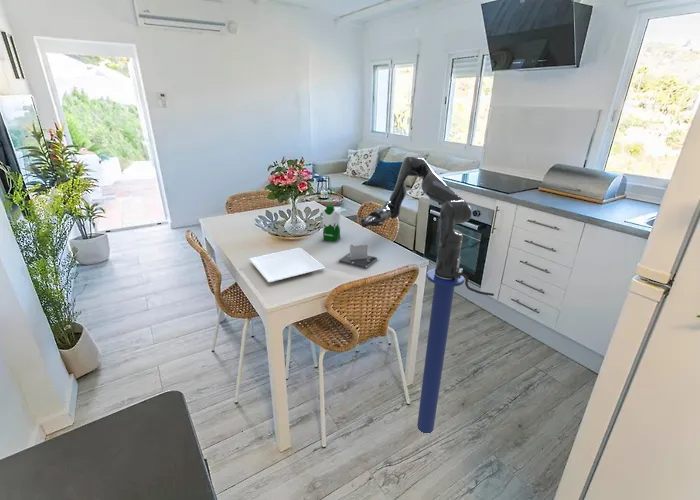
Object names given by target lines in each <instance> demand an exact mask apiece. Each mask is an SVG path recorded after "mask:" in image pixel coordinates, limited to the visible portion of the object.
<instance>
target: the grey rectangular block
mask: <svg viewBox="0 0 700 500" xmlns="http://www.w3.org/2000/svg"><path fill="white" fill-rule="evenodd" d="M349 253H350V260H357V259H367V255H368V244H367V243H357V244H352V243H351V244H350V245H349Z"/></svg>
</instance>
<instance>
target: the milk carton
mask: <svg viewBox="0 0 700 500" xmlns="http://www.w3.org/2000/svg"><path fill="white" fill-rule="evenodd" d="M341 209H342V207H339V206H335V205H333V204H327V205H325V207H324V208H323V209H321V212H322V239H323V241H325V242H332V243H337V241H338V240H339V239H341Z"/></svg>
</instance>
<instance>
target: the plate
mask: <svg viewBox="0 0 700 500" xmlns="http://www.w3.org/2000/svg"><path fill="white" fill-rule="evenodd" d="M248 260H249V261H250V262H251V263H252V264H253V266H254V267H255V268H256V269H257V271H258V272H259V273H260V274H261V275H262V276H263V278H264V279H265V281H267V283H273V282H278V281H281V280H285V279H290V278H293V277H297V276H301V275H304V274H308V273H312V272H317V271H320V270H324V269H326V267H325V266H324V265H323V264H322V263H321V262H319V261H318V260H317V259H315V258H314V257H313V256H312V255H311V254H309V252H307V251H305V249H303V248H302V247H296V248H295V247H294V248H291V249H286V250H282V251H277V252H273V253H272V252H271V253H267V254H263V255H258V256H254V257H253V256H252V257H249V258H248Z"/></svg>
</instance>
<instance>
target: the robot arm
mask: <svg viewBox="0 0 700 500" xmlns="http://www.w3.org/2000/svg"><path fill="white" fill-rule="evenodd" d="M408 177H416V178H420V179H421V185H420V186H421V189H422V191H423V193H424V194H425V195H426V196H427V197H428V198H429V199H430V200H432V201H434V202H435V203H437V204H441V207H440V211H439V227H438V230H439V237H438V245H437V252H436V253H437V254H436V262H435V268H436V269H435V268H434V269H435V276H436V277H437V278H439V279H442V280H453V281H455V279H456V278H460V277H461V276H463V277H464V278H465V279H464V282H465V283H464V284H465V287H466V288H467V290H469V291H471V292H474V293H476V294H479V295H484V296H491V297H494V296H495V293H493V292H486V291H482V290H478V289H475V288H472V287H470V286H469V277H468V276H467V275H466V274H465V273H463V272H464V269H463V268H460V264H461V258H462V256H461V251H462V243H463V238H464V234H463V232H461V231H460V230H458V229H455V228H454V225H457V224H465V223H467V222H469V221H470V220H471V218H472V208H471V206H470V204H469V203H468V202H467V201H466V200H465V199H464V198H463V197H461V196H459V195H458V194H457V193H456V192H454V191H453V190H452V189H451V188H450V186H449V185H447V184H446V183H445V181H444V180H443V179H442V178H441V177H440V176H438V175H437V174H436V172H435V171H434V170H433V169H432V168H431V166H430V165H429V164H428V162H427V161H426V160H425V159H424V157H423V158H422V157H420V156H419V157H418V156H406V157H405V158H404V159H403V161H402V163H401V166H400V169H399V172H398V175H397V179H396V183H395V185H394V188H393V191H392V193H391V194H390V197H389V201H388V200H387V201H385V202H384V203H383V204H382V206H381V207H380V208H378V209H375V210H373V211H371V212H370V213H369V214H368V216H365V217H363V216H360V218H359V221H360V223H361V227H362V228H368V227H378V226H383V223H385V222H386V221H387V220H388V219H393V220H394V219H395V220H396V219H397V218H398V217H399V216H400V214H401V209H402V203H403V201H404V199H405V198H406V196H407V185H406V180H407V178H408Z"/></svg>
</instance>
